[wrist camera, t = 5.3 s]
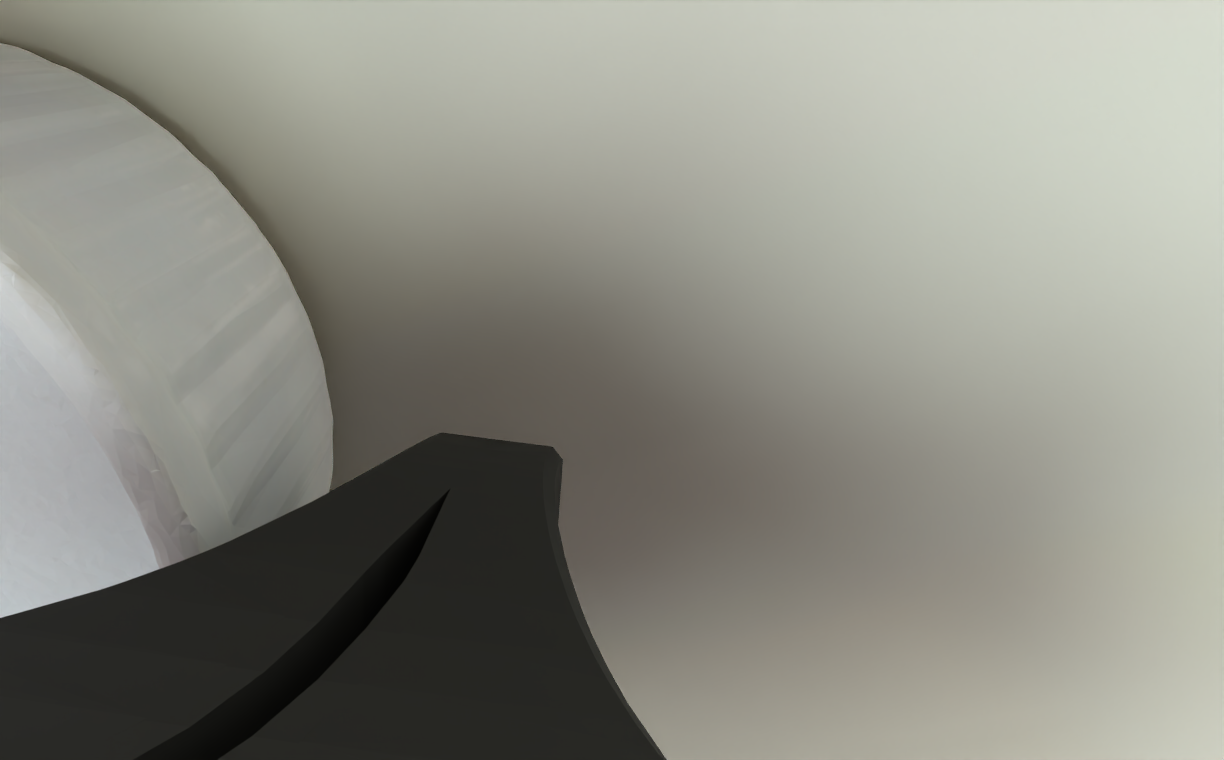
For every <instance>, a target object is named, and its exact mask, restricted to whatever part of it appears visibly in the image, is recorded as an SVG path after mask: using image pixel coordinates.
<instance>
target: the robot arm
mask: <svg viewBox="0 0 1224 760" xmlns="http://www.w3.org/2000/svg"><path fill="white" fill-rule="evenodd" d="M562 464H563V459H562V458H561V457H560V456H559V454H558V453H557V452H556V451H555V449H554V448H553V447H550V446H542V445H534V444H526V443H518V442H510V441H503V440H495V439H487V438H479V437H471V436H463V435H455V434H447V433H440V434H437V435H435V436H432V437H430V438H428V439H426V440H424V441H422V442H420V443H418V444H416V445H414V446H412V447H411V448H409V449H407V450H405V451H403V452H401V453H400V454H398V455H396V456H394V457H393V458H391V459H389V460H387V461H385V462H384V463H382V464H380V465H378V466H376V467H375V468H373V469H371V470H369V471H367V472H366V473H364V474H362V475H360V476H358V477H356V478H355V479H353V480H351V481H349V482H347V483H345V484H344V485H342V486H340V487H338V488H336V489H334V490H333V491H331V492H329V493H327V494H325V495H323V496H322V497H320V498H318V499H316V500H314V501H312V502H310V503H308V504H306V505H304V506H302V507H300V508H298V509H295V510H293V511H291V512H289V513H287V514H285V515H283V516H281V517H279V518H277V519H275V520H273V521H270V522H268V523H266V524H264V525H262V526H260V527H258V528H256V529H254V530H252V531H250V532H247V533H245V534H243V535H241V536H239V537H237V538H235V539H233V540H231V541H229V542H226V543H224V544H222V545H219V546H217V547H215V548H212V549H210V550H208V551H205V552H203V553H200V554H198V555H195V556H193V557H190V558H188V559H185V560H183V561H180V562H177V563H175V564H172V565H169V566H166V567H164V568H161V569H158V570H155V571H153V572H150V573H147V574H144V575H142V576H139V577H136V578H133V579H131V580H128V581H125V582H122V583H119V584H116V585H113V586H110V587H107V588H104V589H101V590H97V591H94V592H90V593H87V594H83V595H80V596H76V597H73V598H69V599H66V600H62V601H59V602H55V603H51V604H48V605H44V606H41V607H37V608H34V609H30V610H27V611H23V612H20V613H16V614H13V615H9V616H5V617H2V618H0V760H666V758H665V757H664V755H663V754H662V752H661V751H660V749H659V748H658V747H657V745H656V744H655V742H654V741H653V739H652V738H651V736H650V735H649V734H648V732H647V731H646V729H645V728H644V726H643V725H642V723H641V722H640V720H639V719H638V718H637V716H636V715H635V713H634V712H633V710H632V709H631V707H630V706H629V705H628V703H627V701H626V700H625V698H624V696H623V694H622V693H621V691H620V689H619V687H618V685H617V683H616V682H615V680H614V678H613V676H612V674H611V673H610V671H609V669H608V667H607V665H606V663H605V661H604V659H603V657H602V655H601V653H600V651H599V649H598V647H597V645H596V643H595V640H594V638H593V636H592V634H591V632H590V629H589V627H588V624H587V622H586V620H585V617H584V614H583V612H582V609H581V607H580V604H579V601H578V598H577V595H576V592H575V589H574V586H573V583H572V580H571V577H570V574H569V570H568V567H567V563H566V560H565V556H564V551H563V546H562V542H561V537H560V532H559V527H558V518H559V505H560V491H561V478H562Z"/></svg>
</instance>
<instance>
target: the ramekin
mask: <svg viewBox="0 0 1224 760" xmlns="http://www.w3.org/2000/svg"><path fill="white" fill-rule="evenodd" d="M333 422H334V421H333V415H332V408H331V402H330V397H329V393H328V388H327V383H326V376H325V370H324V364H323V360H322V357H321V354H320V350H319V347H318V344H317V341H316V338H315V335H314V332H313V329H312V326H311V323H310V321H309V318H308V315H307V313H306V311H305V309H304V307H303V305H302V303H301V301H300V299H299V297H298V295H297V293H296V291H295V289H294V286H293V284H292V282H291V280H290V277H289V275H288V273H287V271H286V269H285V268H284V266H283V264H282V263H281V261H280V259H279V258H278V256H277V254H276V253H275V251H274V249H273V248H272V246H271V245H270V244H269V242H268V241H267V239H266V238H265V237H264V235H263V234H262V233H261V231H260V230H259V228H258V226H257V225H256V223H255V222H254V221H253V220H252V219H251V217H250V216H249V215H248V214H247V213H246V211H245V210H244V209H243V208H242V207H241V205H240V204H239V203H238V202H237V201H236V199H235V198H234V197H233V196H232V195H231V193H230V192H229V191H228V190H227V189H226V188H225V187H224V185H223V184H222V183H221V182H220V181H219V180H218V178H217V177H216V176H215V174H214V173H213V172H212V171H211V170H210V169H208V168H207V167H206V166H205V165H204V164H203V163H201V162H200V161H199V160H198V159H197V158H196V157H194V156H193V155H192V154H191V153H190V152H189V151H188V150H187V149H186V148H185V147H184V146H183V145H182V143H181V142H179V141H178V140H177V139H176V138H175V137H174V136H173V135H172V134H171V133H170V132H168V131H167V130H166V129H164V128H163V127H162V126H160V125H159V124H158V123H156V122H155V121H154V120H152V119H151V118H150V117H148V116H147V115H145V114H144V113H143V112H141V111H140V110H139V109H137V108H136V107H135V106H133V105H132V104H131V103H129V102H128V101H126V100H125V99H124V98H122V97H120V96H118V95H116V94H115V93H113V92H111V91H109V90H107V89H105V88H104V87H102V86H100V85H98V84H97V83H95V82H93V81H91V80H89V79H88V78H86V77H84V76H82V75H81V74H79V73H77V72H74V71H72V70H70V69H68V68H66V67H63V66H60V65H58V64H55V63H52V62H50V61H48V60H46V59H44V58H42V57H40V56H38V55H36V54H34V53H31V52H29V51H27V50H24V49H22V48H19V47H15V46H11V45H7V44H2V43H0V618H2V617H5V616H9V615H13V614H16V613H20V612H23V611H27V610H30V609H34V608H37V607H41V606H44V605H48V604H51V603H55V602H59V601H62V600H66V599H69V598H73V597H76V596H80V595H83V594H87V593H90V592H94V591H97V590H101V589H104V588H107V587H110V586H113V585H116V584H119V583H122V582H125V581H128V580H131V579H133V578H136V577H139V576H142V575H144V574H147V573H150V572H153V571H155V570H158V569H161V568H164V567H166V566H169V565H172V564H175V563H177V562H180V561H183V560H185V559H188V558H190V557H193V556H195V555H198V554H200V553H203V552H205V551H208V550H210V549H212V548H215V547H217V546H219V545H222V544H224V543H226V542H229V541H231V540H233V539H235V538H237V537H239V536H241V535H243V534H245V533H247V532H250V531H252V530H254V529H256V528H258V527H260V526H262V525H264V524H266V523H268V522H270V521H273V520H275V519H277V518H279V517H281V516H283V515H285V514H287V513H289V512H291V511H293V510H295V509H298V508H300V507H302V506H304V505H306V504H308V503H310V502H312V501H314V500H316V499H318V498H320V497H322V496H323V495H325V494H327V493H329V491H330V485H331V480H332V473H333Z"/></svg>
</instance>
